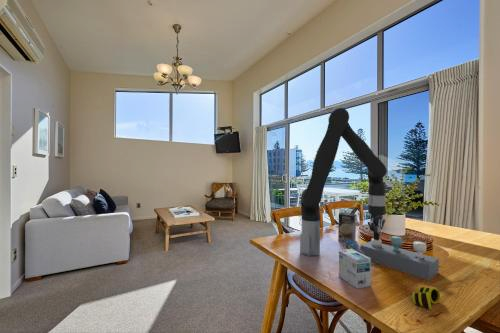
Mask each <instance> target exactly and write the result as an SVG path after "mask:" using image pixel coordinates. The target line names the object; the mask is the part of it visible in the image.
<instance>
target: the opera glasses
mask: <svg viewBox="0 0 500 333" xmlns="http://www.w3.org/2000/svg"><path fill="white" fill-rule="evenodd" d="M440 300H441V292H440V291H439V289H438V288H437V287H434V286H432V287H428V286H426V287H425V286H419V287H418V290H417V292H416V291H415V292H414V291H413V292H412V302H413V304H414V305H419V306H421V307H426V308H428V309H429V310H430V311H431V310H432V304H434V305H435V304H439V302H440Z"/></svg>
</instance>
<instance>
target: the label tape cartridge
mask: <svg viewBox="0 0 500 333" xmlns="http://www.w3.org/2000/svg"><path fill="white" fill-rule="evenodd" d="M345 249H353V250H355V251H357V252H359V253H361V254H363V255H365V253H364V252H363V251H361V250H360V249H359V247H358V243H356V241H355V242H353V241H351V240H349V239H348V238H346V242H345Z"/></svg>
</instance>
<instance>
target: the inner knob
mask: <svg viewBox="0 0 500 333" xmlns="http://www.w3.org/2000/svg"><path fill="white" fill-rule="evenodd" d="M370 241H371V245H372V246H374V247H382V244H383V243H382V239H379V240H374V237H372V238H371V240H370Z"/></svg>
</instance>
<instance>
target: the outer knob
mask: <svg viewBox="0 0 500 333" xmlns="http://www.w3.org/2000/svg"><path fill="white" fill-rule="evenodd" d="M412 248H413V251H414V252H416V253H417V258H418V259H421V260H423V255H424V253H426V252H427V243H426V242H422V241H413V247H412Z"/></svg>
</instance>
